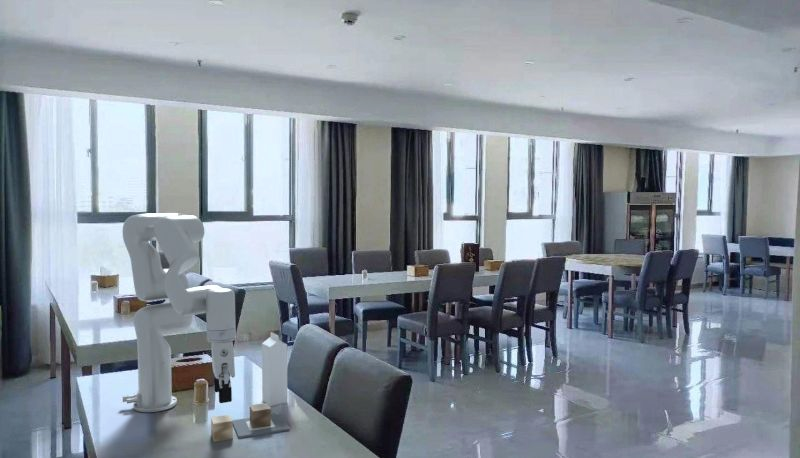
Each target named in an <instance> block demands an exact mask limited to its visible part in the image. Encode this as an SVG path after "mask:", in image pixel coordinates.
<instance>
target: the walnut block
mask: <svg viewBox="0 0 800 458" xmlns="http://www.w3.org/2000/svg"><path fill="white" fill-rule="evenodd" d="M271 411H272V408H271V406H269V405H268V404H267V403H265V402H263V403H256V404H251V405H249V418H250V424H251V426H252V428H253V429H254V428H261V427H267V426H271V415H272V414H271V413H272V412H271Z"/></svg>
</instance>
